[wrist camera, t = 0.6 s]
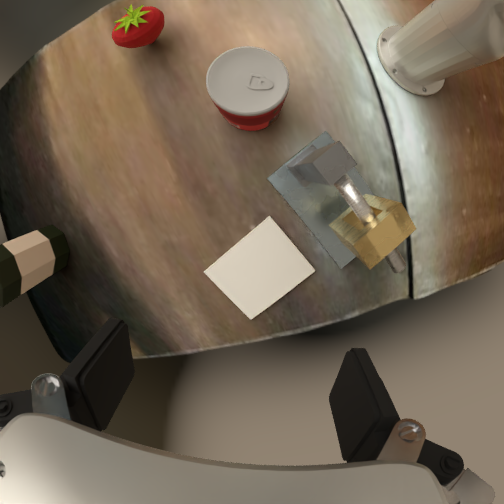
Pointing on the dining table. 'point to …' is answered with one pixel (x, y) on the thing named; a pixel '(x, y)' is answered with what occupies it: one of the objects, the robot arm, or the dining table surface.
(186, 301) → the dining table surface
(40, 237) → the wine bottle
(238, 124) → the canned food
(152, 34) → the strawberry
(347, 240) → the rectangular frame block
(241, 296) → the pad
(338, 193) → the stand
